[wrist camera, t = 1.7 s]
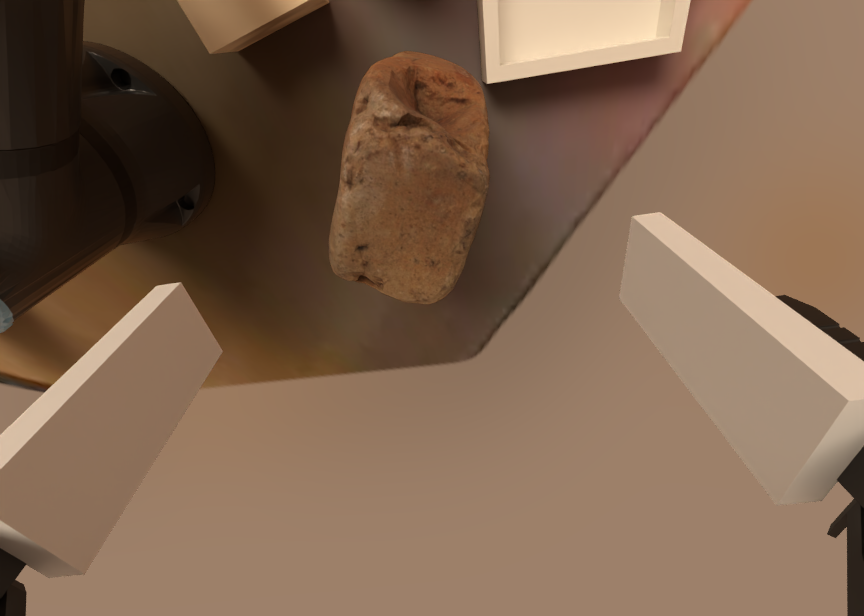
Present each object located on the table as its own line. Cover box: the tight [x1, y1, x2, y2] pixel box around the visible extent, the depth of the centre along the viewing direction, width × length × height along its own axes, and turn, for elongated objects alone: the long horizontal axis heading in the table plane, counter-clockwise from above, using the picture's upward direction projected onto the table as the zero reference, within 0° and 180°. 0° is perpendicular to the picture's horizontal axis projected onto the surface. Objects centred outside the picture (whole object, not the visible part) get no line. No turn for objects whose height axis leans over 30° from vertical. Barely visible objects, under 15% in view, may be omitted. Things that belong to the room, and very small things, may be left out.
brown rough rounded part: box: [329, 51, 490, 304], centre depth 25 cm, size 11×8×20 cm
